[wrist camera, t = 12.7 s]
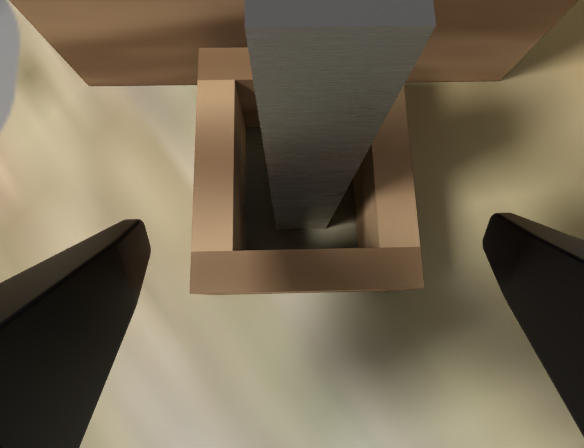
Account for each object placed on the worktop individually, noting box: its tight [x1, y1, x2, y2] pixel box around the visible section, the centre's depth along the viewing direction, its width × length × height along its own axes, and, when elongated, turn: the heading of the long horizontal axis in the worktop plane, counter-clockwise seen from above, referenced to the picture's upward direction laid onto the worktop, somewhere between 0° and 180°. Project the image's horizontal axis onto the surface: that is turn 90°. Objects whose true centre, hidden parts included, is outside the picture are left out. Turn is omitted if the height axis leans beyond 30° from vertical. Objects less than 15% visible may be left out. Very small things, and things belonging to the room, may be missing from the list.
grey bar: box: [245, 0, 436, 229], centre depth 11 cm, size 4×2×13 cm, turn 1°
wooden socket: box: [10, 0, 578, 295], centre depth 13 cm, size 14×22×10 cm, turn 91°
